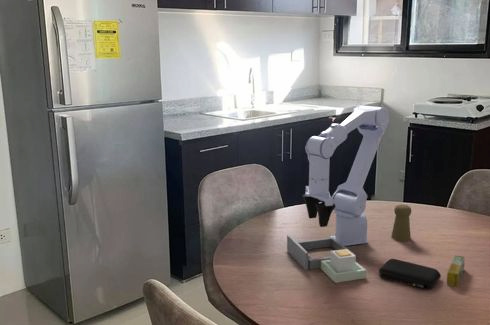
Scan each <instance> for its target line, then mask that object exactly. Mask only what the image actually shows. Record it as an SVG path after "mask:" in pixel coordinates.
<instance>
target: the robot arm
mask: <svg viewBox="0 0 490 325" xmlns="http://www.w3.org/2000/svg"><path fill="white" fill-rule="evenodd" d="M389 123H390V114H389V110H388V108H387V107H385V106H372V105H363V104H359V105H357V106H356V107H354V108H353V109H352V113H351V114H350V115H349V116H348V117H347V118H346V119H345V120H343V121H342V122H341V123H331V125H330V126H329V127H328V128H327V129H325V130H324V131H322V132H320V134H318V135H317V136H316V135H313V136H311V137H310V138H309V139H307V141H306V144H305V146H304V148H305V153H306V154H307V160H308V162H309V165H308V168H309V172H308V185H305V193H304V194H302V199H303V201H304V204H305V206H306V210H307V215H308V219H316V218H317V217H318V224H319V227H320V228H325V227H328V225H329V221H330V217H331V216H332V215H331V214H332V213H333V214H335V230H334V231H335V232H334V234H335V235H329V238H330V237H334V238H335V239H336V240H337V241H339V242H340V243H341V244H343V245H344V246H345V247H347V246H354V245H363V244H368V243H369V241H368V240H367V238H368V235H367V234H368V219H367V216H366V214H365V213H364V212H365V211H366V206H367V198H368V197H369V196H368V194H367V193H366V191H365V190H364V185H365V182H366V179H367V177H368V174H369V171H370V169H371V167H372V163H373V161H374V159H375V156H376V153H377V151H378V148H379V145H380V143H381V140H382V137H383V136H384V135H385V132H386V130H387V127H388V125H389ZM356 129H357V130H358V132H359V134H361V135H362V136H363V137H362V140H361V143H360V145H359V148H358V150H357V153H356V156H355V159H354V161H353V164H352V165H351V169H350V171H349V174H348V177H347V179H346V181H345V182H344V183H342V184H339V185H338V186H337V188H336V190H335V191H334V193H333V194H332V195H331V194H330V191H329V190H330V189H329V188H330V161H331V160H330V158H331V157H333V154H334V153H335V150H336V149H337V147H339V146H340V144H342V143H344V141H346V140H347V138H348V134H349V133H350V132H352V131H354V130H356ZM320 201H321V202H320Z"/></svg>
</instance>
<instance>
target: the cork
mask: <svg viewBox="0 0 490 325" xmlns="http://www.w3.org/2000/svg"><path fill="white" fill-rule="evenodd" d="M393 211H394V215H395V217H394V222H393V228H392V231H391V236H390V237H391V239H392V240H394V241H398V242H408V241H411V239H412V237H411V224H410V216H411V214H412V208H411V206H409V205H408V204H403V203H402V204H397V205H396V206H394V210H393Z"/></svg>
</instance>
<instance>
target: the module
mask: <svg viewBox="0 0 490 325" xmlns="http://www.w3.org/2000/svg"><path fill="white" fill-rule="evenodd" d="M348 249H349V248H348ZM348 249H343V250H335V249H334V250H330V251H329V252H330V253H329V254H330V256H329V257H330V267H331V268H332V269H333V270H334V271H335V272H336V273H341V272H348V271H354V270H355V264H356V262H357V256H356V254H355V253H354V252H353V253H354V254H355V255H354V254H353V253H351V252H352V251H351V250H350V249H349V250H350V251H351V252H350V251H349V250H348Z"/></svg>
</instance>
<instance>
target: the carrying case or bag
mask: <svg viewBox="0 0 490 325" xmlns="http://www.w3.org/2000/svg"><path fill="white" fill-rule="evenodd" d="M377 271H378V272H377V273H378V274H379V275H380V277H381V278H383V279H386V280H390V281H394V282H398V283H401V284H405V285H408V286H412V287H414V288H421V289H423V290H430V289H432V288H434V286H435V285H436V284H437V283H438V281H439V280H440V279H441V277H442V276H441V275H442V274H441V273H440V272H439V270H438V269H436V268H433V267H429V266H425V265H421V264H417V263H414V262H409V261H404V260H400V259H397V258H390V259H388V260H387V261H385V263H384V264H382V265H381V266H380V268H378V270H377Z"/></svg>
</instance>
